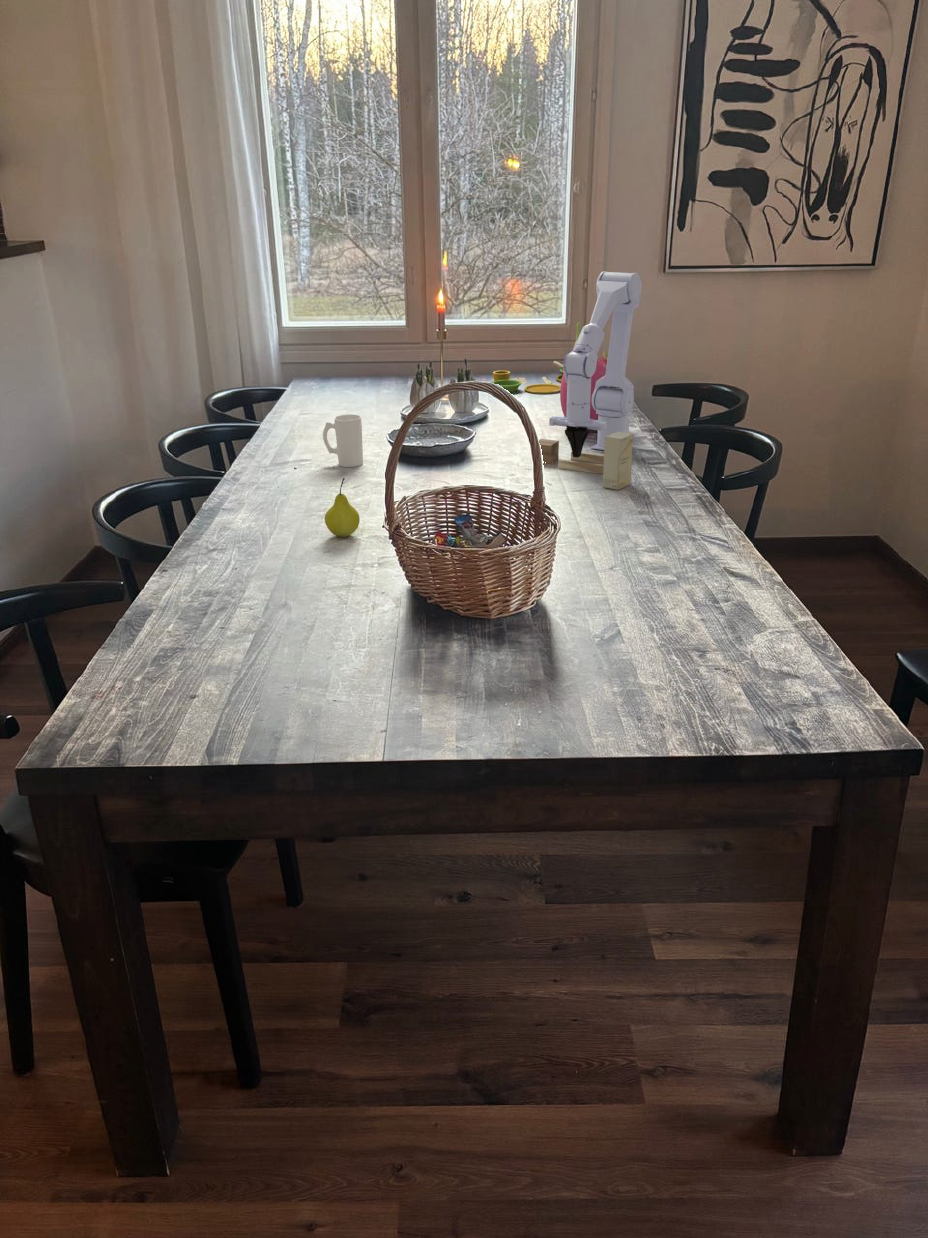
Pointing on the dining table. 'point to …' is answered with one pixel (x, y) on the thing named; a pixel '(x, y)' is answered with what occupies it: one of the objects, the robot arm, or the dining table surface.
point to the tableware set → (513, 384)
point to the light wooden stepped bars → (584, 463)
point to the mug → (346, 439)
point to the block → (549, 450)
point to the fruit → (342, 517)
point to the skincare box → (617, 460)
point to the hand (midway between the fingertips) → (576, 456)
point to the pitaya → (596, 376)
